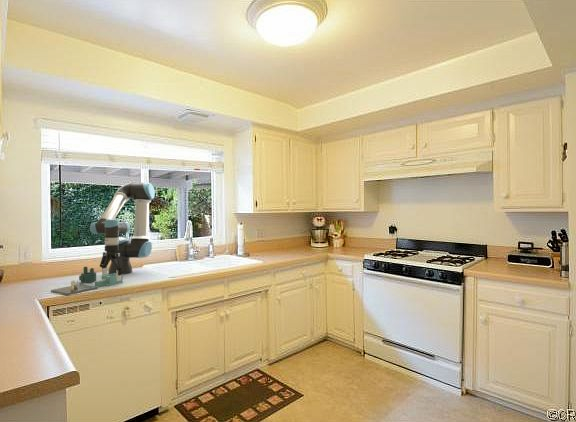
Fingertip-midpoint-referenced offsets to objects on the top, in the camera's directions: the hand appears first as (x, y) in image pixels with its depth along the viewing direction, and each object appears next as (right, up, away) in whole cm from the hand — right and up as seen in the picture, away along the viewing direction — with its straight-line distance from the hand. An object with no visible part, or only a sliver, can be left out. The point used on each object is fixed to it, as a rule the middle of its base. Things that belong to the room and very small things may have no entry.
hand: (111, 279), depth 195 cm
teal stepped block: (-1, -2, -2) cm, 3 cm away
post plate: (-12, -2, -16) cm, 20 cm away
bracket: (-18, -3, +5) cm, 19 cm away
